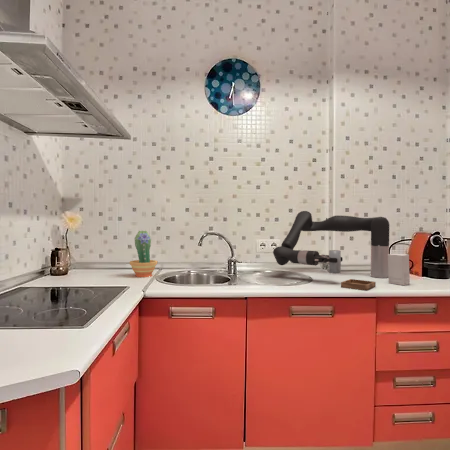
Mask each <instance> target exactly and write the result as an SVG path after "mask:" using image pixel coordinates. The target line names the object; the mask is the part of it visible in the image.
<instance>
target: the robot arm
mask: <svg viewBox="0 0 450 450" xmlns="http://www.w3.org/2000/svg"><path fill="white" fill-rule="evenodd" d="M322 231H324V232H341V233H342V232H343V233H346V232H360V231H364V232H365V231H366V232H370V277H372V278H380V279H381V278H382V279H387V278H388V254H390V221H389V220H388V219H387V218H386V217H384V216H377V217H358V216H352V215H333V216H330V217H328V218H326V219H325V220H321V221H313V216H312V214H311V212H310V211H308V210H302V211H300V212H298V213H297V214H296V216H295V218H294V222H293V223H292V226H291V228H290V230H289V231H288V233H287V235H286V237H285V238H284V240H283V241H282V243H281V245H279V246H276V247H275V248H274V249H273V251H272V254H273V256H274V259H275V261H276V263H277V264H278V265H280V266H285V265H287V264H288V263H289V262H290V263H292V264H299V265H304V266H305V265H306V266H316V267H317V265H319V264H327V263H328V264H329V263H330V262H332V263H337V262H338V259H337V258H329V254H320V253H319V252H318V251H317V250H309V249H308V250H305V249H304V250H297V249H296V250H295V249H294V248H295V247H296V245H297V244H298V241H299V239H300V236H301V232H322ZM341 262H343V257H342V256H341Z"/></svg>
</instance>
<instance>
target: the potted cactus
mask: <svg viewBox="0 0 450 450" xmlns="http://www.w3.org/2000/svg"><path fill="white" fill-rule="evenodd" d="M151 246H152V237H151V235H150V233H148V231H147V230H138V232H137V234H136V235H135V236H134V247H135V249H136V252H137V258H138V260H137V259H136V260H130V261H129V262H128V263H129V265H130V266H131V269H132V271H133V272H134V275H135V277H136V276H137V277H136V278H149V276H150V277H152V276H153V272H154V271H155V270H156V266H157V265H158V260H155V259H151V252H150V251H151Z"/></svg>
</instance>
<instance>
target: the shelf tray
mask: <svg viewBox="0 0 450 450" xmlns="http://www.w3.org/2000/svg"><path fill="white" fill-rule="evenodd" d="M376 283H377V282H376V281H372V280H371V281H370V280H363V279H355V278H350V279H346V280H343V281H340V288H342V289H343V288H344V289H350V288H351V290H357V289H358V291H359V290H360V291H367V292H368V291H369V290H371V289H374V288H376V285H377V284H376Z"/></svg>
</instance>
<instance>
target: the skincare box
mask: <svg viewBox="0 0 450 450" xmlns="http://www.w3.org/2000/svg"><path fill="white" fill-rule="evenodd" d="M387 278H388V284H393V285H399V286H405V285H406V286H407V285H410V282H411V281H410V280H411V279H410V278H411V276H410V255H409V254H408V253H389V254H388V277H387Z"/></svg>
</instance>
